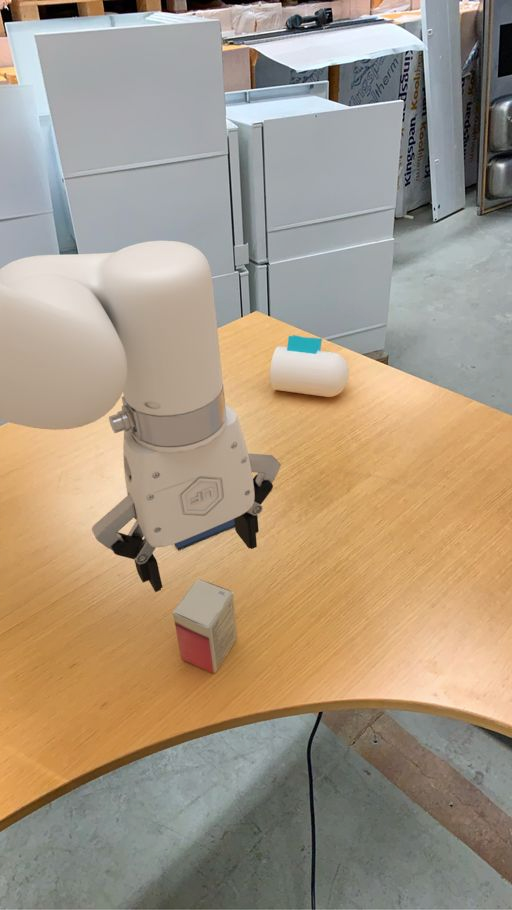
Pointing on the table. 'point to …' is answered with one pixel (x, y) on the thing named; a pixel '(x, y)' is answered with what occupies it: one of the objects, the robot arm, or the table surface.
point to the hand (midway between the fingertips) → (200, 559)
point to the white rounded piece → (308, 368)
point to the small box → (205, 625)
